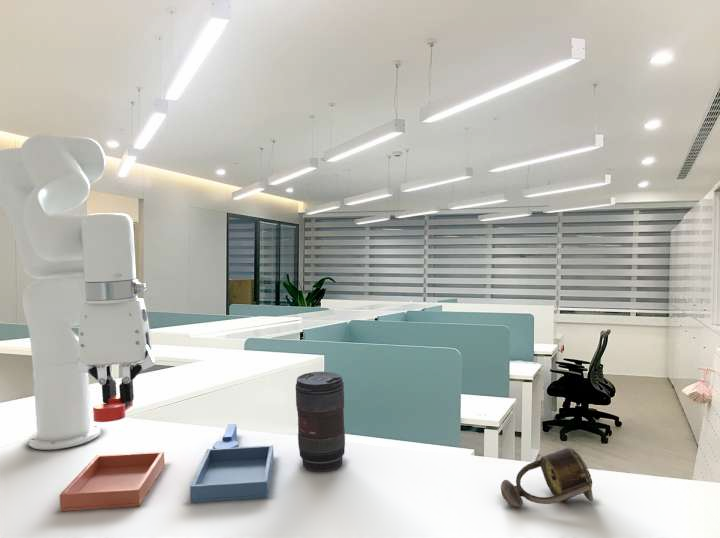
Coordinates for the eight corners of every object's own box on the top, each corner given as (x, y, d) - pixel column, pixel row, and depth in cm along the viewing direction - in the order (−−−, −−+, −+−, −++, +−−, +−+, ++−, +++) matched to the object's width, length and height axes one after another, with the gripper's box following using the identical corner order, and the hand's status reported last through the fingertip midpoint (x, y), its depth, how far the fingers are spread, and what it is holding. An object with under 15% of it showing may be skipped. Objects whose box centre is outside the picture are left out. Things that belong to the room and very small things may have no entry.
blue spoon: (237, 459, 102) (236, 444, 102) (211, 460, 102) (210, 446, 101) (244, 436, 113) (243, 423, 113) (221, 437, 113) (220, 424, 112)
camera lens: (289, 470, 97) (286, 381, 96) (311, 452, 104) (308, 369, 103) (334, 476, 94) (331, 385, 92) (353, 457, 101) (351, 372, 100)
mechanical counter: (604, 482, 77) (592, 439, 86) (505, 467, 79) (503, 427, 89) (596, 526, 79) (585, 480, 88) (500, 511, 82) (499, 467, 91)
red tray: (97, 469, 99) (96, 455, 99) (164, 465, 100) (164, 451, 100) (60, 511, 84) (59, 494, 84) (139, 506, 85) (138, 489, 85)
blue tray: (208, 463, 101) (207, 449, 100) (273, 459, 101) (273, 445, 101) (190, 503, 86) (189, 486, 86) (267, 498, 87) (266, 481, 87)
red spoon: (119, 421, 87) (119, 403, 87) (89, 423, 86) (88, 405, 86) (141, 405, 98) (140, 389, 98) (114, 406, 97) (113, 391, 97)
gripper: (168, 287, 96) (174, 397, 98) (69, 291, 95) (77, 403, 96) (156, 292, 89) (163, 410, 90) (49, 296, 88) (57, 417, 89)
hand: (118, 406), depth 93 cm, fingers closed on red spoon, 1 cm apart
